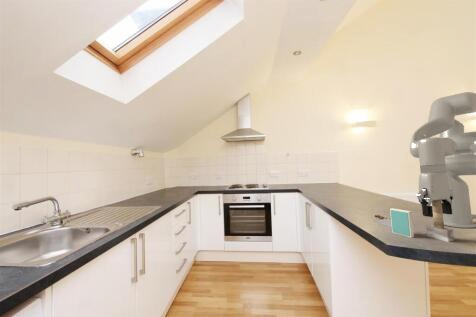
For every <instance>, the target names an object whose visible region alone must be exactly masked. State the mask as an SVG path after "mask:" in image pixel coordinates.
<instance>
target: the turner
mask: <svg viewBox="0 0 476 317" xmlns="http://www.w3.org/2000/svg"><path fill="white" fill-rule="evenodd" d="M431 206H432V210H433V217H432V218H433V225H432V224H431V225H427V226H425V227H426V235H427V238H432V239H436V240H438V241H439V240H440V241H444V242H447V243H450V242H454V241H455V235H454V229H452V228H447V227H445V225H444V221H443V212H442V203H441V200H433V201H432V203H431Z"/></svg>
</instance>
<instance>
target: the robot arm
mask: <svg viewBox="0 0 476 317" xmlns="http://www.w3.org/2000/svg"><path fill="white" fill-rule="evenodd" d="M472 113H476V92H475V93H474V92H473V91H472V92H471V91H466V92H465V91H464V92H461V93H456V94H451V95H447V96H442V97H439V98H437V99H435V100H433V102H432V103H431V105H430V110H429V115H428V119H427V120H428V121H427V122H425V123H424V124H422V125H421V126H419V128H418V129H416V130H415V132H414V133H413V134H412V136H411V140H410V144H409V152H410V154H411V156H413V157H414V158H417V159H418V160H419V162H418V163H419V171H420V174H419V177H418V192H417V194H416V198H417V200H418V202H419V203H420V206H421V210H422V216H424V217H429V218H433V210H432V201H433V200H441V203H442V212H443V221H444V226H447V227H453V228H461V229H462V228H463V229H465V228H467V229H471V228H473V229H474V228H476V221H473V220H476V214H474V213H473V214H472V207H471V198H470V192H469V191H470V190H469V185H468V184H467V182H466V181H465V180H464V179H462V178H461V176H476V131H467V132H465V126H464V123H462V122H460V121H459V120H457V119H455V116H462V115H467V114H472ZM437 135H439V136H437ZM434 136H435V137H434ZM436 136H437V137H436Z"/></svg>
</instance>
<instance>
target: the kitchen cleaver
mask: <svg viewBox="0 0 476 317" xmlns="http://www.w3.org/2000/svg"><path fill="white" fill-rule="evenodd" d="M374 217H375V218H377V220H374V222H375V223H378V224H380V225H383V226H386V227H389V228H391V229H392V225H391V218H390V219H389V218H386V217H384V216H382V215H380V214H375V215H374Z"/></svg>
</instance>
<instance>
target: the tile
mask: <svg viewBox="0 0 476 317" xmlns="http://www.w3.org/2000/svg"><path fill="white" fill-rule="evenodd" d="M389 212H390V213H389V214H390V220H391V225H392V228H391V231H392V232H391V233H393V234H396V235H400V236H404V237H407V238H410V239H412V238H415V232H414V231H415V230H414V223H413V222H414V221H413V212H412V211H410V210H405V209H399V208H392V207H391V208H389Z"/></svg>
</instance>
